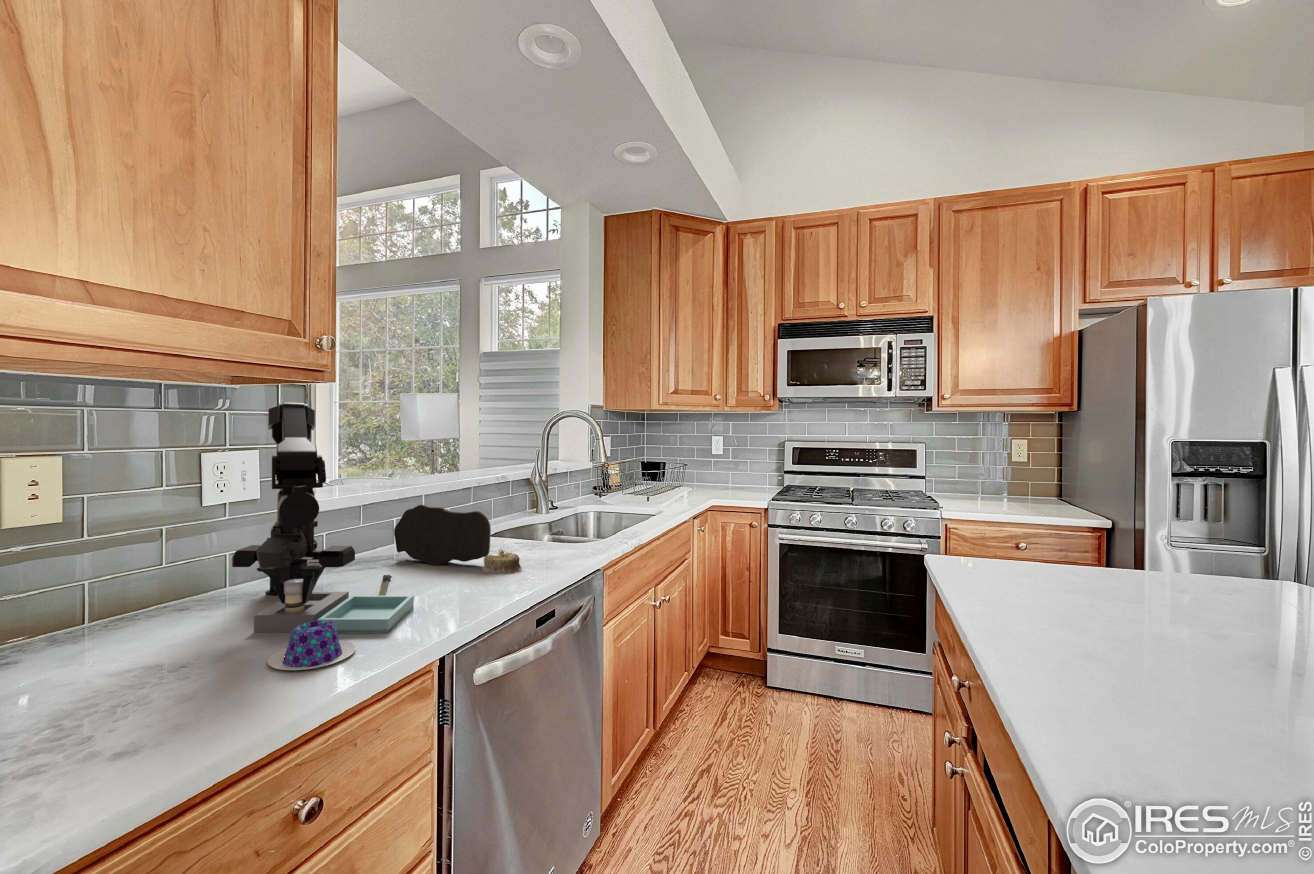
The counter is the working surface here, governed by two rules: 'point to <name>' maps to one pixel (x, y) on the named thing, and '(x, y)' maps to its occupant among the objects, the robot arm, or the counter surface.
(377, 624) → the parts tray
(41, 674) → the counter surface
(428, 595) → the counter surface
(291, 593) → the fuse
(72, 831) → the counter surface
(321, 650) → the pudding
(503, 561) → the cake
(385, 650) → the counter surface
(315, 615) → the block
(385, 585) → the tomahawk
